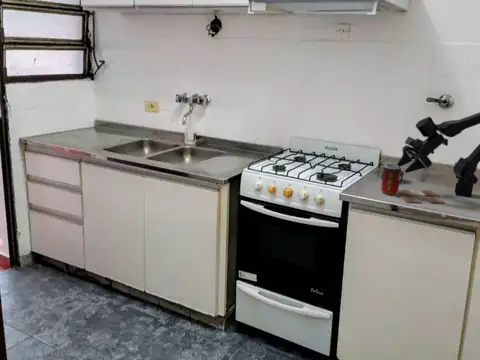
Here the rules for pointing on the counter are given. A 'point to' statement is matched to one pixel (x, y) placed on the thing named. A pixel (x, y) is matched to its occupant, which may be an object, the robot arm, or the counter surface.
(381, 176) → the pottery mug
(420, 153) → the robot arm
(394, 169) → the soda can
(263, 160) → the counter surface
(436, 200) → the lane broken
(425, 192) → the brown wooden board
